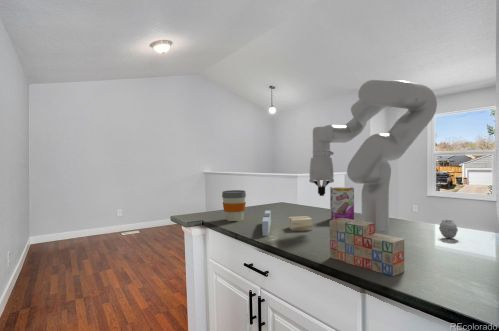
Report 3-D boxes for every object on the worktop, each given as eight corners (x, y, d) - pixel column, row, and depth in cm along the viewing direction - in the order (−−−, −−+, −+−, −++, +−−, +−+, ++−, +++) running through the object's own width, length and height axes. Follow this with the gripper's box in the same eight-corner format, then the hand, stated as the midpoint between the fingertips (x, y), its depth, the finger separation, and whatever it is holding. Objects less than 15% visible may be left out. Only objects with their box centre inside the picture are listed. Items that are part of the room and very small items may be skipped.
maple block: (312, 230, 139) (312, 219, 139) (291, 231, 138) (291, 219, 138) (308, 227, 146) (308, 216, 146) (289, 227, 145) (288, 216, 145)
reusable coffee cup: (246, 222, 159) (245, 192, 159) (221, 222, 159) (220, 193, 159) (246, 217, 171) (246, 189, 171) (223, 217, 172) (223, 190, 171)
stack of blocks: (405, 272, 87) (404, 227, 87) (392, 277, 84) (392, 231, 83) (342, 253, 105) (341, 217, 104) (329, 257, 101) (328, 219, 101)
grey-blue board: (268, 235, 130) (268, 220, 130) (262, 235, 131) (262, 220, 131) (270, 222, 156) (270, 209, 156) (265, 222, 157) (265, 210, 156)
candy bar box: (331, 220, 158) (331, 187, 157) (330, 218, 163) (329, 186, 162) (354, 220, 156) (354, 187, 156) (352, 218, 161) (351, 186, 161)
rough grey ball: (454, 236, 123) (454, 218, 123) (461, 240, 116) (460, 222, 116) (436, 235, 124) (436, 217, 124) (442, 240, 118) (442, 221, 118)
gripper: (337, 154, 143) (337, 194, 144) (303, 154, 145) (304, 194, 145) (340, 154, 136) (340, 196, 136) (304, 154, 137) (305, 196, 138)
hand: (321, 195), depth 141 cm, fingers closed
